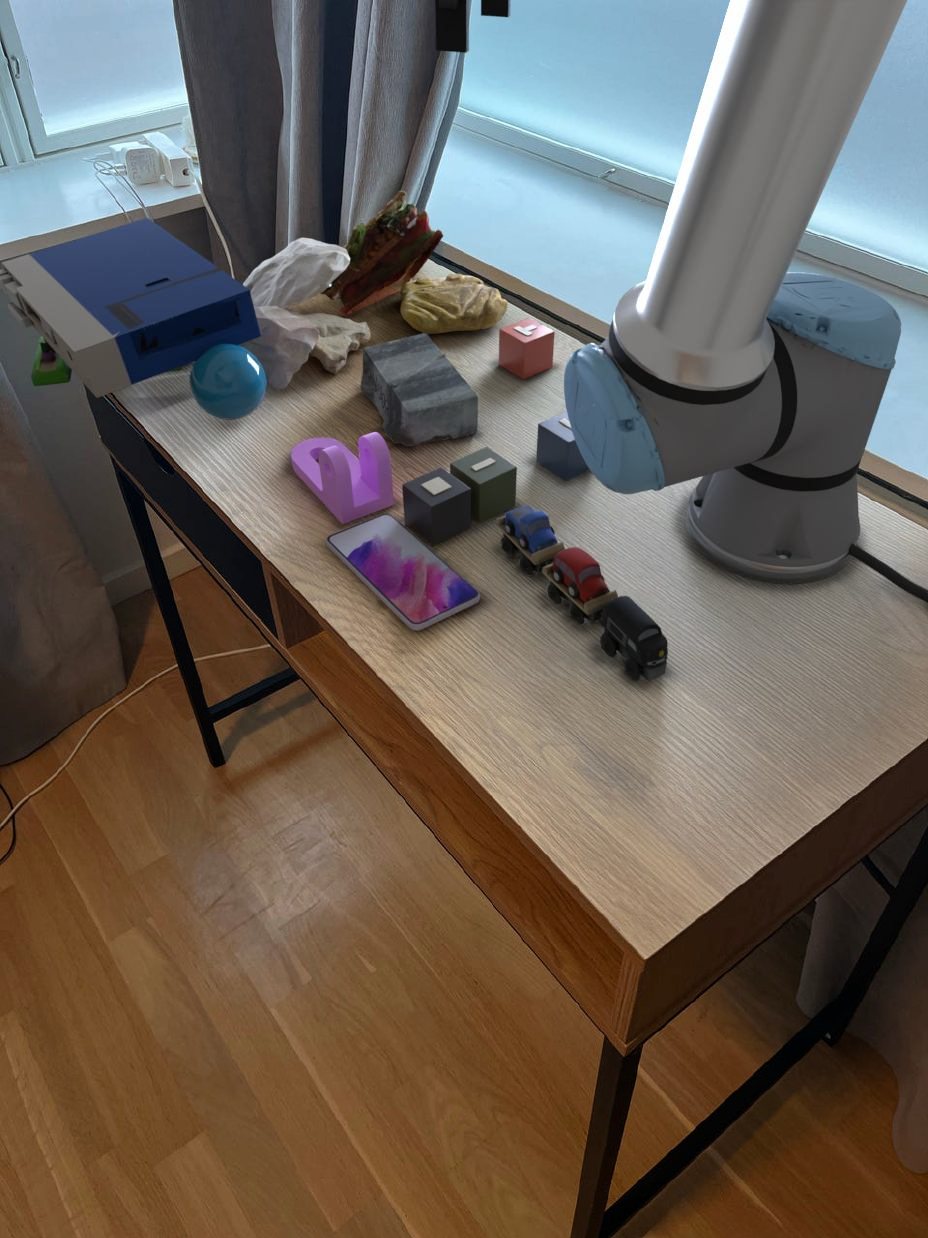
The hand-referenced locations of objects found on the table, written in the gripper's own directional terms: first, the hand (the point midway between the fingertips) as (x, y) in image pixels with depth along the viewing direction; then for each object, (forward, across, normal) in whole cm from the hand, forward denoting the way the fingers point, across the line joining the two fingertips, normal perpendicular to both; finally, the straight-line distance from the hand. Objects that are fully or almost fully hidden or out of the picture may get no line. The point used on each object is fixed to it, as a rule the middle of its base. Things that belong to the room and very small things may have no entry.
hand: (475, 32), depth 88 cm
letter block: (+35, -4, +5) cm, 35 cm away
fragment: (+31, -9, -25) cm, 41 cm away
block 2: (+35, +23, +8) cm, 42 cm away
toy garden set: (+35, +3, -42) cm, 55 cm away
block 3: (+35, +14, +14) cm, 40 cm away
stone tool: (+32, +7, -18) cm, 37 cm away
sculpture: (+33, -8, -4) cm, 34 cm away
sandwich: (+31, -15, -14) cm, 38 cm away
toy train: (+35, +35, +19) cm, 53 cm away
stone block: (+35, +9, -4) cm, 36 cm away
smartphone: (+35, +36, +4) cm, 50 cm away
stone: (+35, -2, -18) cm, 39 cm away
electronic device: (+26, +18, -27) cm, 41 cm away
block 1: (+35, +28, +5) cm, 45 cm away
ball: (+33, +17, -26) cm, 45 cm away
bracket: (+35, +24, -7) cm, 43 cm away
